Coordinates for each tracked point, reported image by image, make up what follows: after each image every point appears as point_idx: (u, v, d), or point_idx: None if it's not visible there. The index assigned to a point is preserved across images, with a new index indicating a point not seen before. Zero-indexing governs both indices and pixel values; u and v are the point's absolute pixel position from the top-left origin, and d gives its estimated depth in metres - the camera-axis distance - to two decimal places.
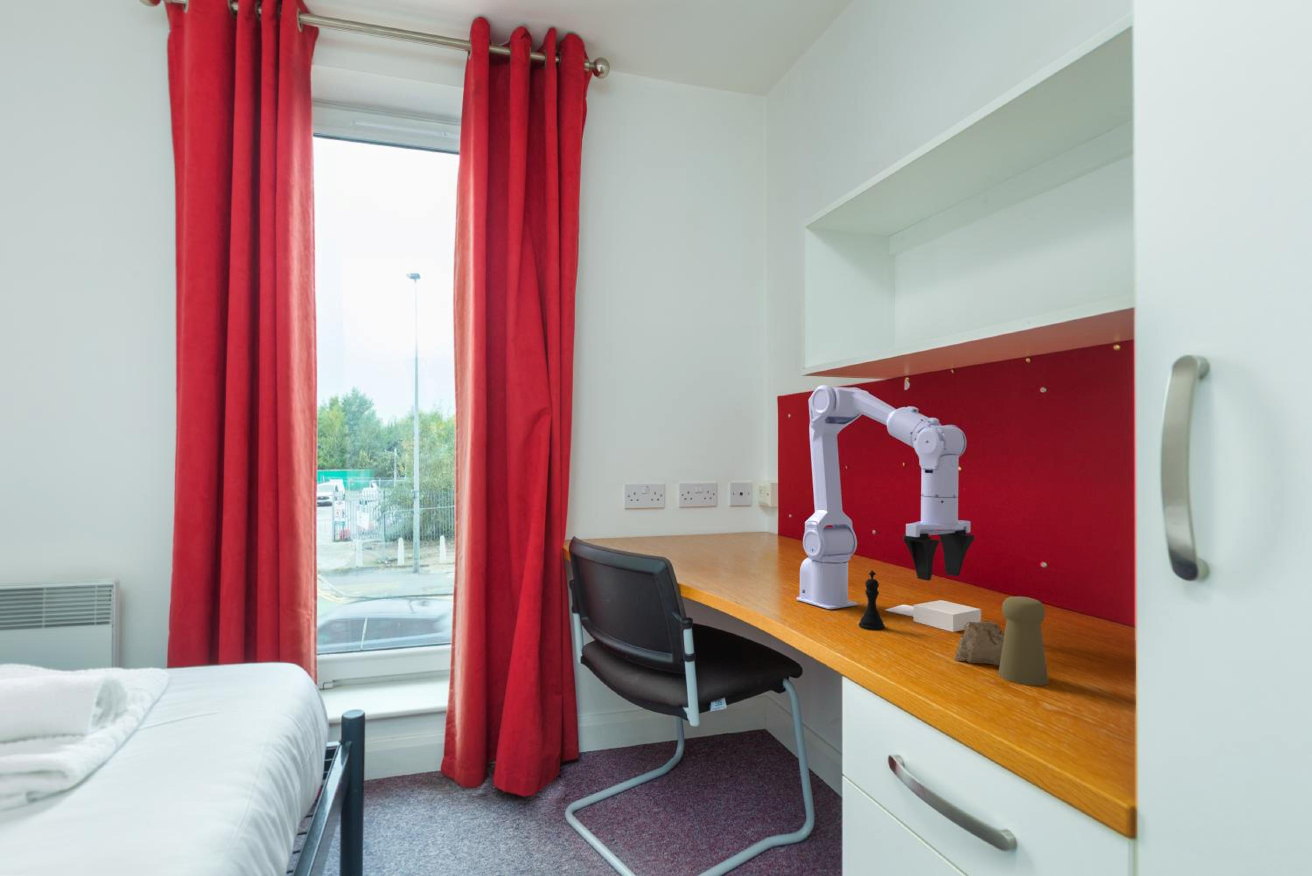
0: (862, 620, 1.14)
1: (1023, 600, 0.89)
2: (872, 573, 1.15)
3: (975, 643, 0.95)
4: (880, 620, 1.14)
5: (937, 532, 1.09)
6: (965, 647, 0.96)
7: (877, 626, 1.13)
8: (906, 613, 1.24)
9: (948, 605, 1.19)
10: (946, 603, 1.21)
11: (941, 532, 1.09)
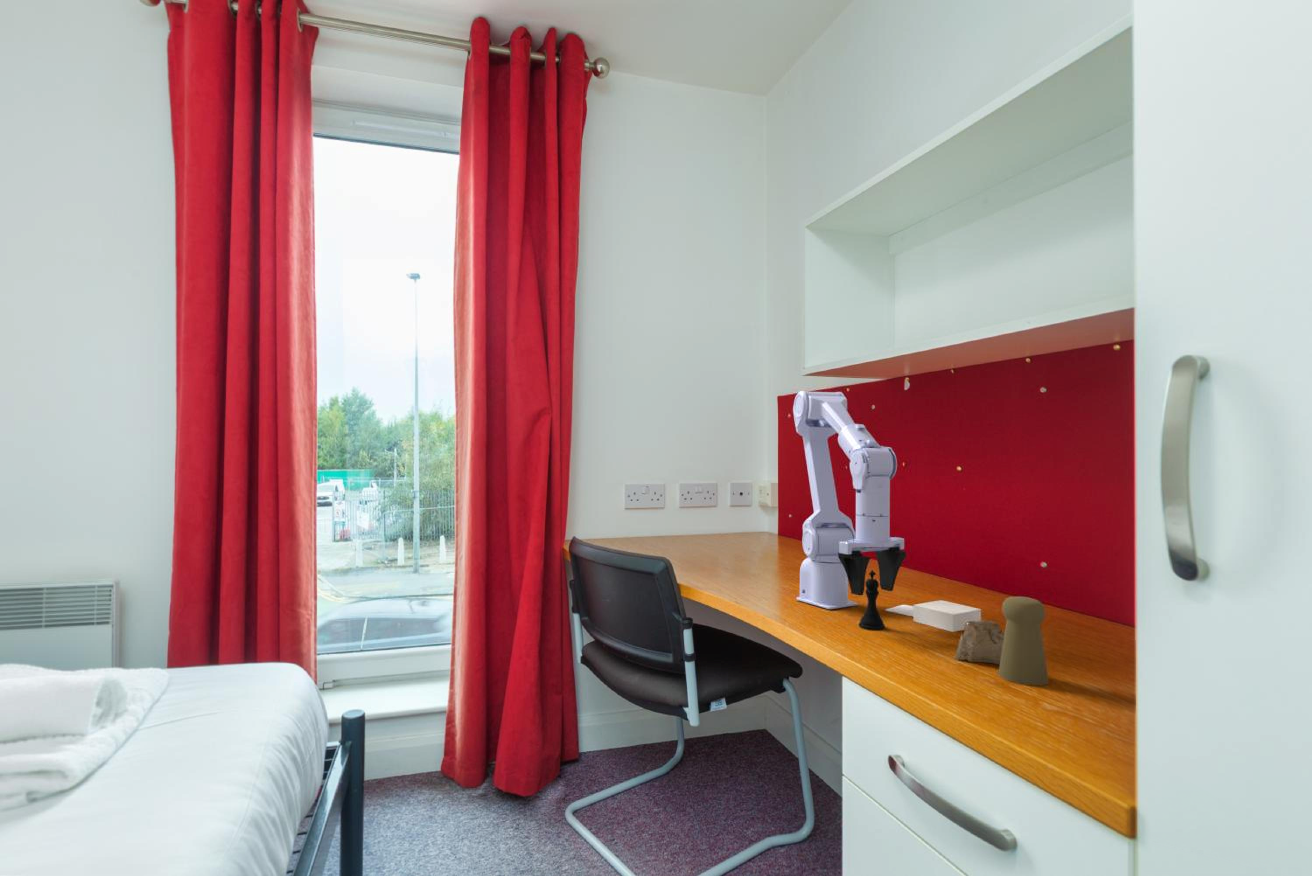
0: (862, 620, 1.14)
1: (1023, 600, 0.89)
2: (872, 573, 1.15)
3: (975, 642, 0.95)
4: (880, 620, 1.14)
5: (870, 549, 1.14)
6: (965, 646, 0.96)
7: (877, 626, 1.13)
8: (906, 613, 1.24)
9: (948, 605, 1.19)
10: (946, 603, 1.21)
11: (874, 549, 1.15)
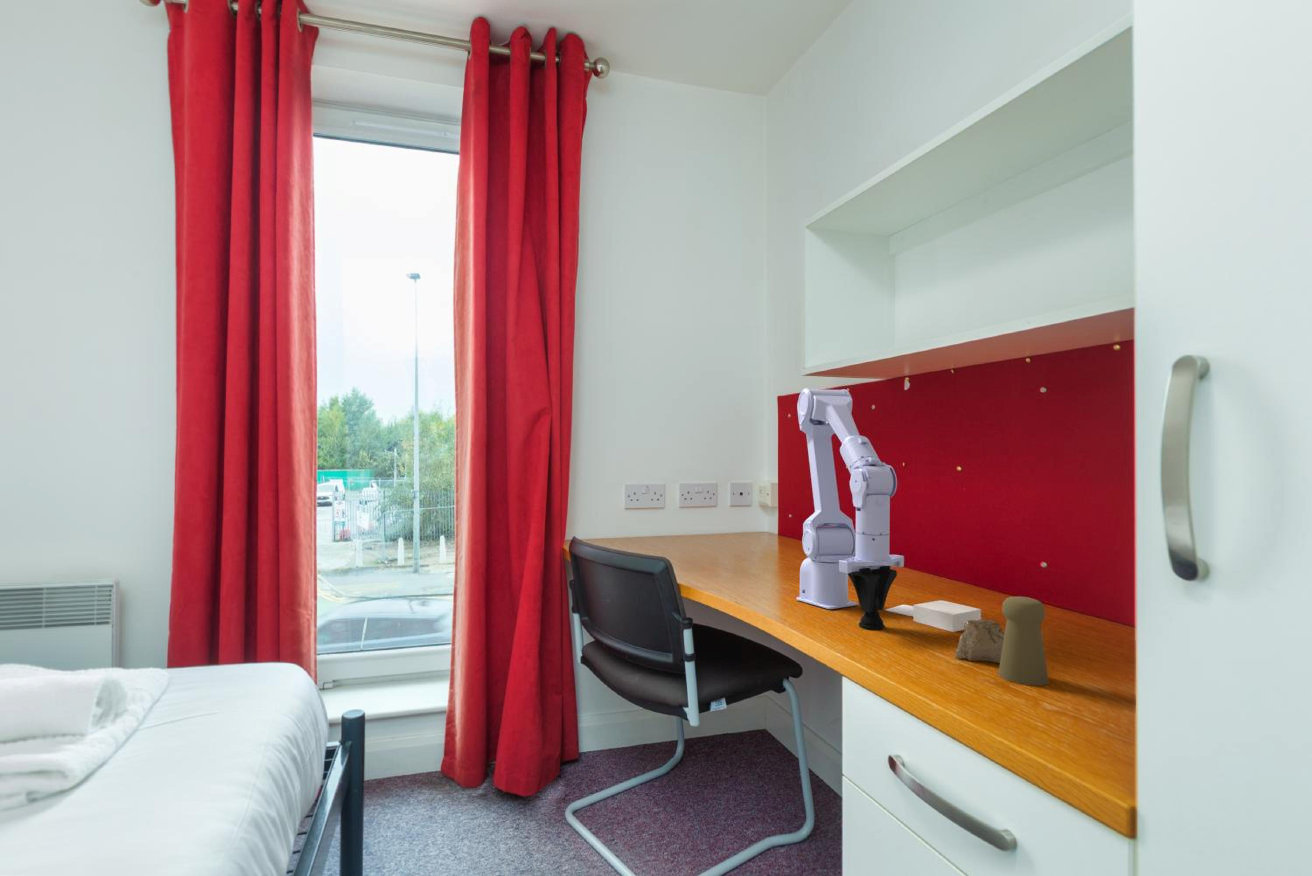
0: (862, 620, 1.14)
1: (1023, 600, 0.89)
2: None
3: (975, 641, 0.96)
4: (880, 620, 1.14)
5: (870, 567, 1.14)
6: (965, 645, 0.97)
7: (877, 626, 1.13)
8: (906, 613, 1.24)
9: (948, 605, 1.19)
10: (946, 603, 1.21)
11: (874, 567, 1.15)
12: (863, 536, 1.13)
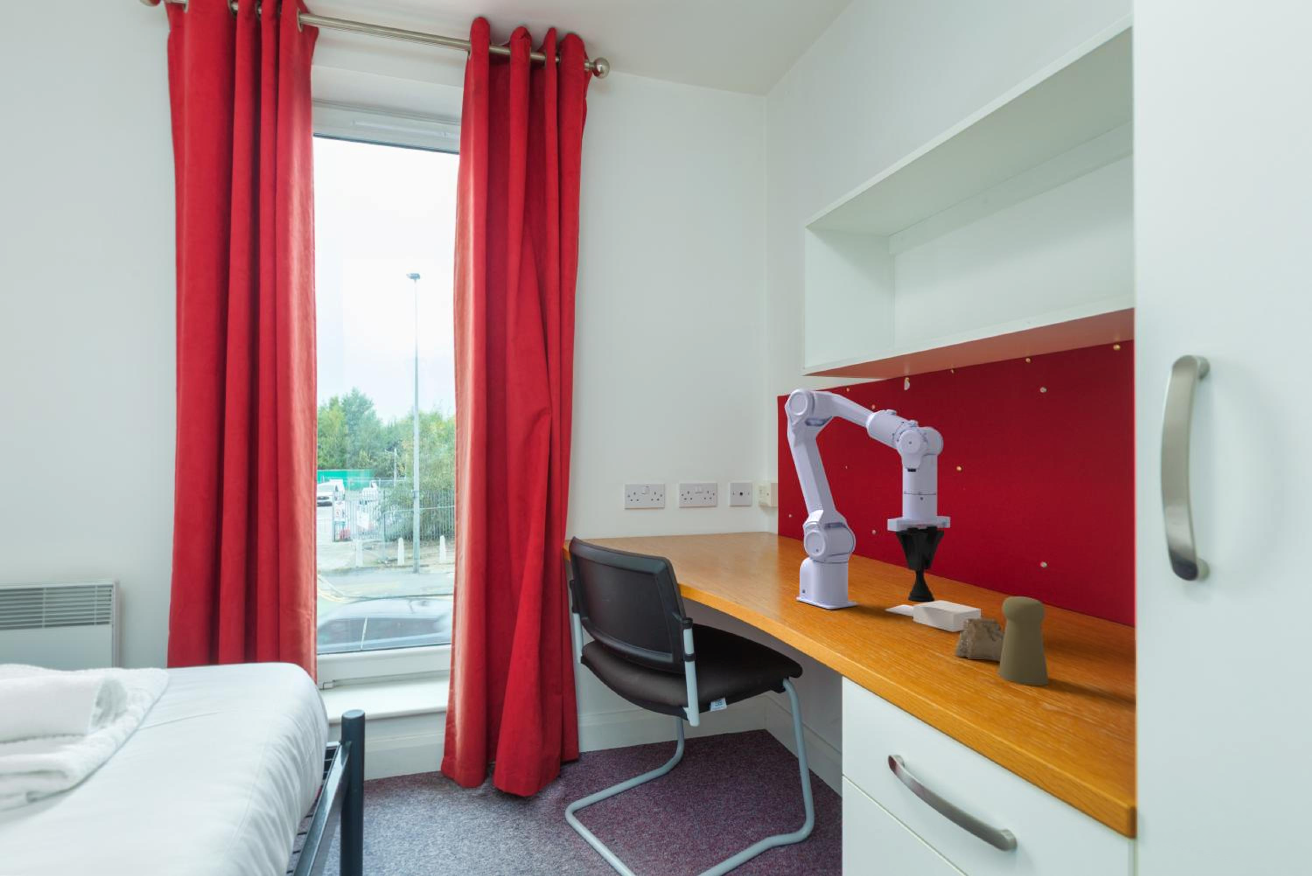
0: (912, 594, 1.16)
1: (1023, 600, 0.89)
2: None
3: (975, 640, 0.97)
4: (930, 592, 1.15)
5: (917, 527, 1.16)
6: (964, 643, 0.98)
7: (928, 598, 1.14)
8: (906, 613, 1.24)
9: (948, 605, 1.19)
10: (946, 603, 1.21)
11: (921, 527, 1.17)
12: (911, 496, 1.15)
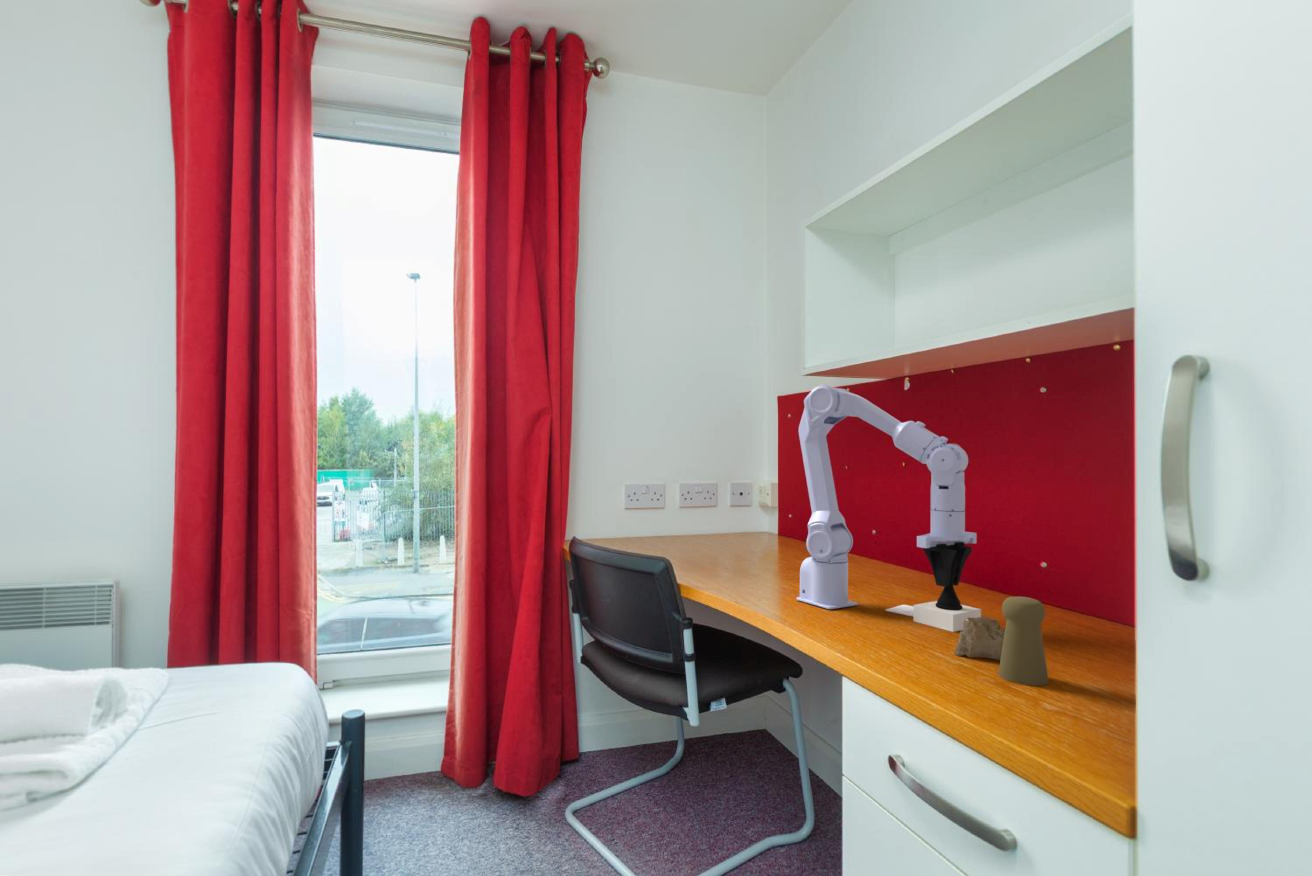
0: (941, 601, 1.17)
1: (1022, 599, 0.89)
2: None
3: (974, 638, 0.97)
4: (958, 600, 1.16)
5: (946, 543, 1.17)
6: (964, 642, 0.98)
7: (957, 606, 1.16)
8: (906, 613, 1.24)
9: None
10: None
11: (949, 543, 1.18)
12: (940, 513, 1.16)
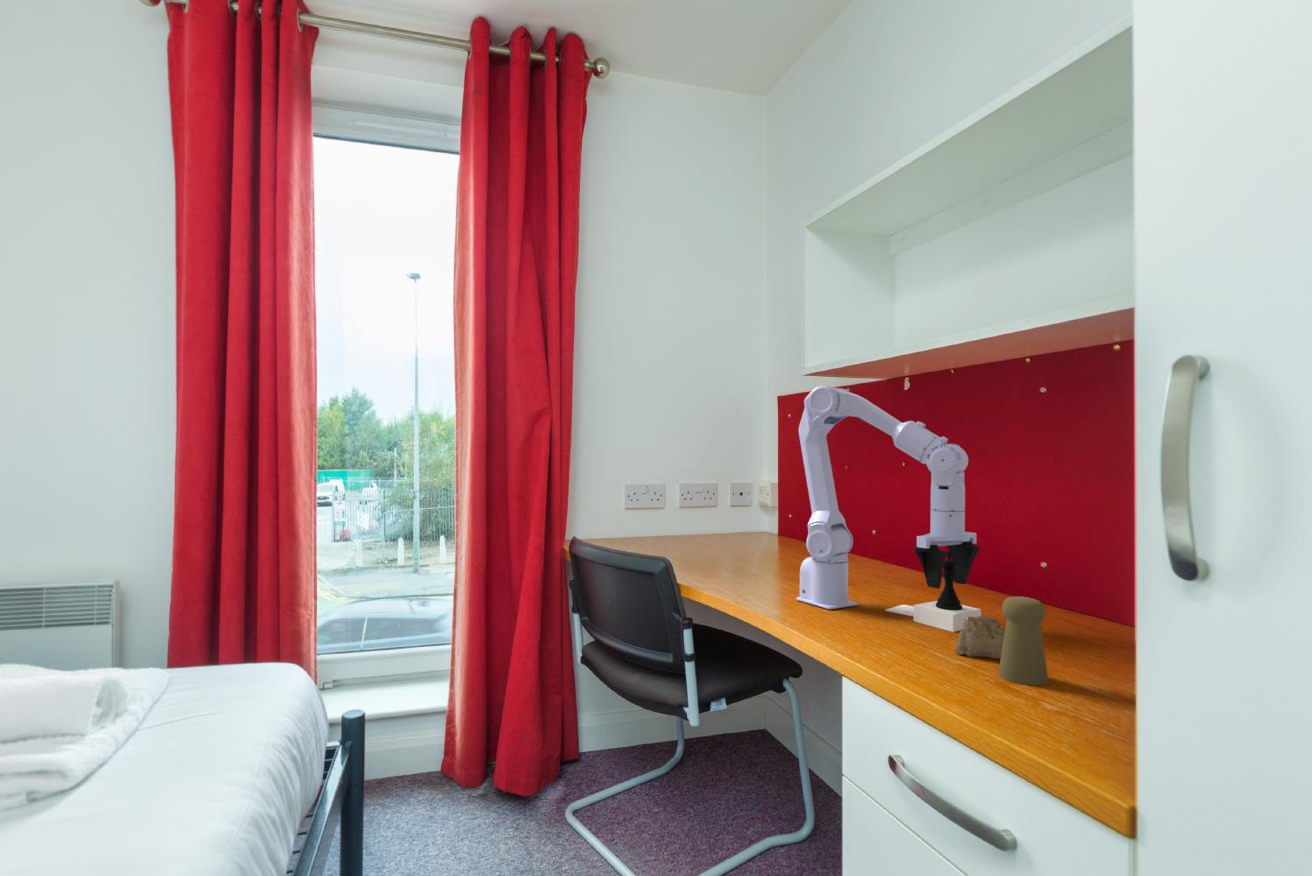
0: (941, 601, 1.17)
1: (1023, 600, 0.89)
2: (949, 555, 1.17)
3: (974, 638, 0.98)
4: (958, 600, 1.16)
5: (945, 543, 1.17)
6: (964, 641, 0.99)
7: (957, 606, 1.16)
8: (906, 613, 1.24)
9: None
10: None
11: (949, 543, 1.18)
12: (939, 513, 1.16)
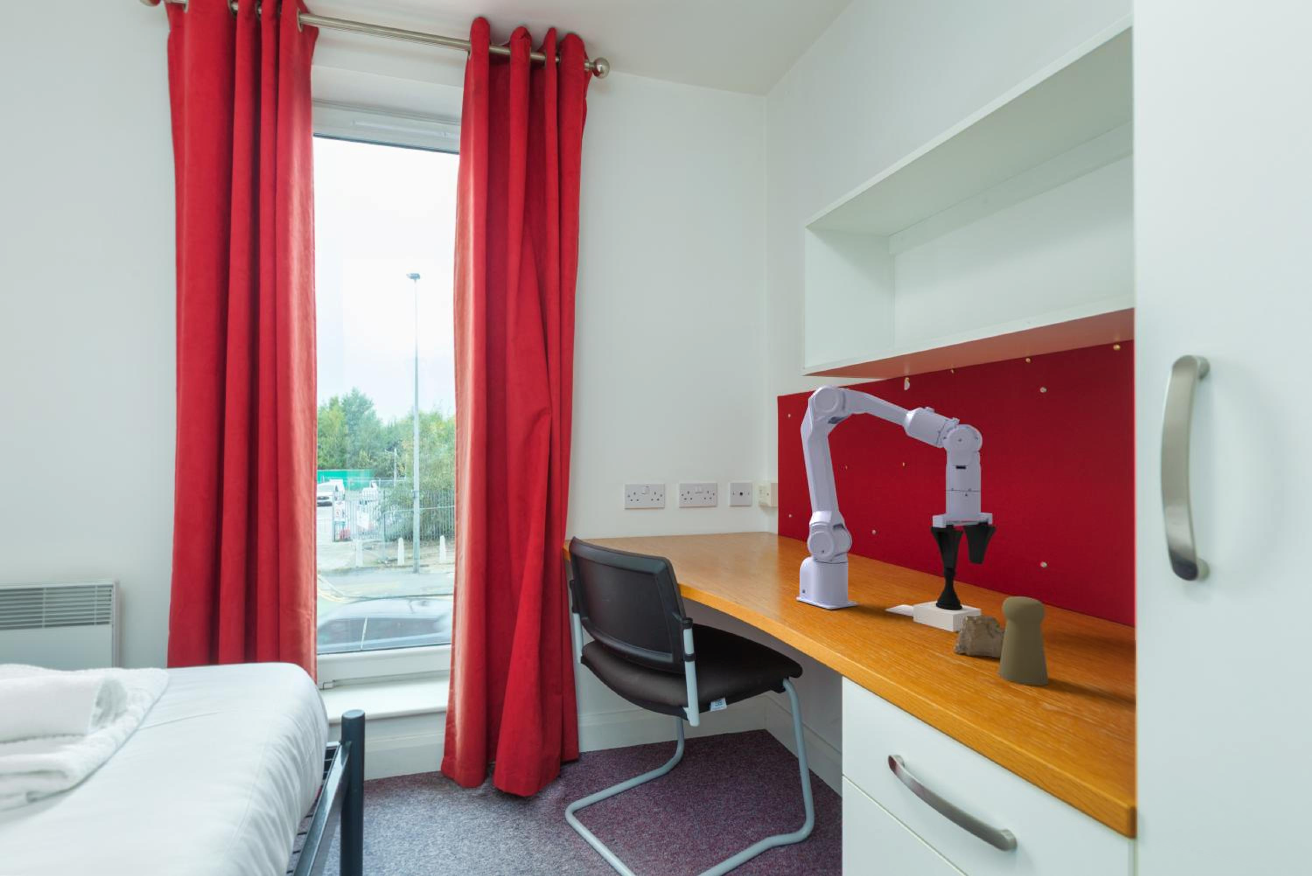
0: (941, 601, 1.17)
1: (1023, 600, 0.89)
2: None
3: (974, 637, 0.98)
4: (958, 600, 1.16)
5: (961, 523, 1.17)
6: (963, 640, 0.99)
7: (957, 606, 1.16)
8: (906, 613, 1.24)
9: None
10: None
11: (965, 523, 1.18)
12: (955, 492, 1.17)
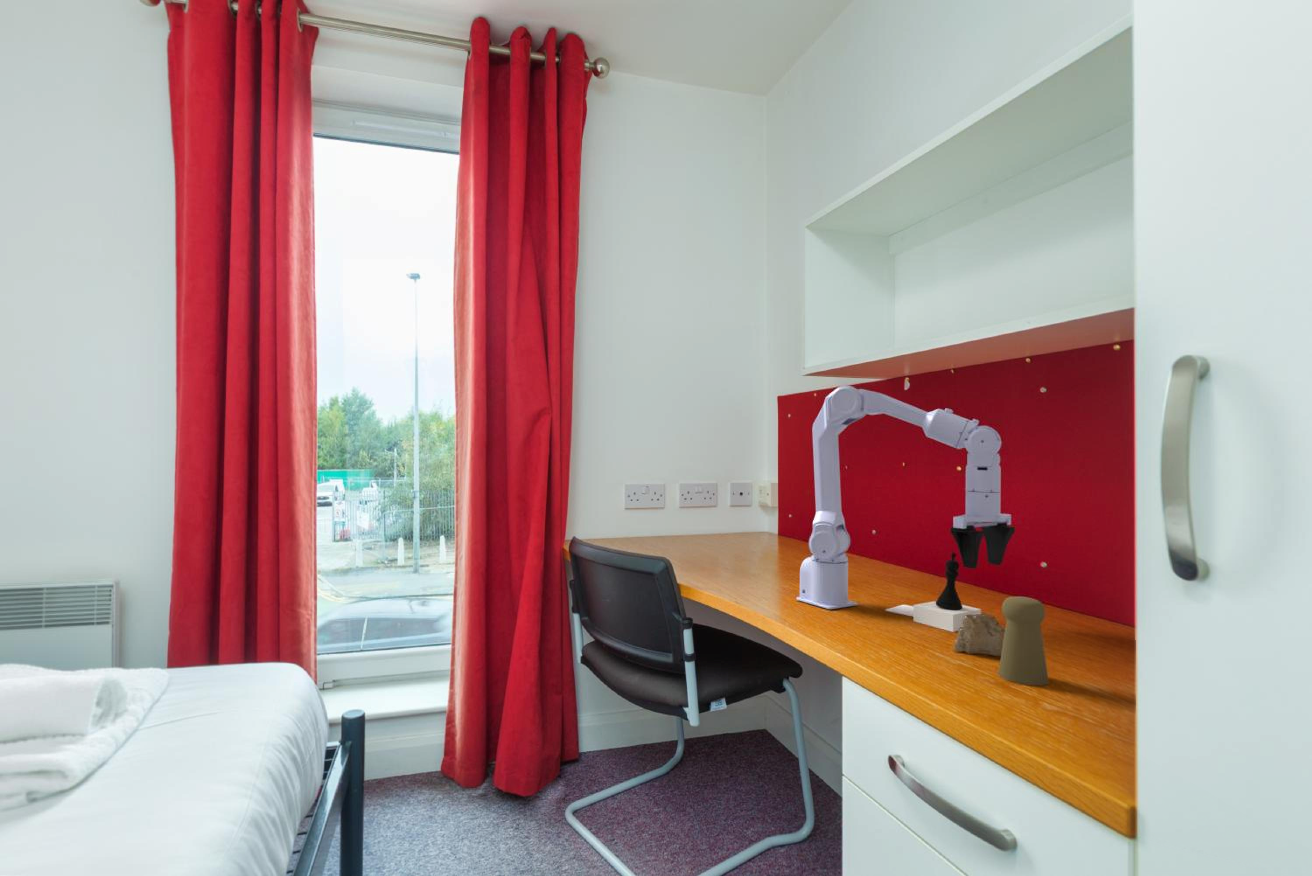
0: (941, 600, 1.17)
1: (1022, 599, 0.89)
2: (954, 555, 1.16)
3: (973, 635, 0.99)
4: (959, 600, 1.16)
5: (981, 524, 1.18)
6: (963, 639, 1.00)
7: (956, 606, 1.15)
8: (906, 613, 1.24)
9: None
10: None
11: (985, 524, 1.18)
12: (976, 493, 1.17)
